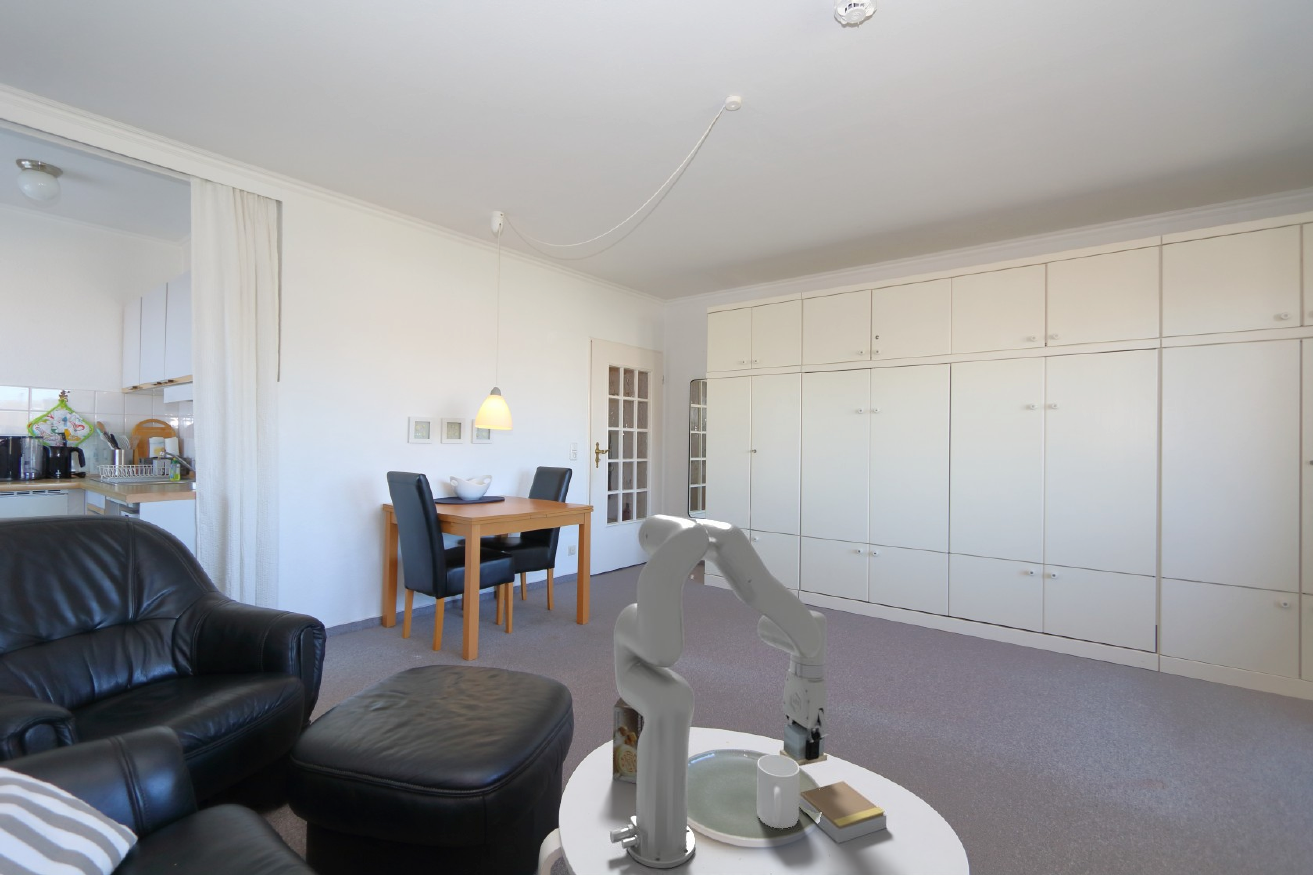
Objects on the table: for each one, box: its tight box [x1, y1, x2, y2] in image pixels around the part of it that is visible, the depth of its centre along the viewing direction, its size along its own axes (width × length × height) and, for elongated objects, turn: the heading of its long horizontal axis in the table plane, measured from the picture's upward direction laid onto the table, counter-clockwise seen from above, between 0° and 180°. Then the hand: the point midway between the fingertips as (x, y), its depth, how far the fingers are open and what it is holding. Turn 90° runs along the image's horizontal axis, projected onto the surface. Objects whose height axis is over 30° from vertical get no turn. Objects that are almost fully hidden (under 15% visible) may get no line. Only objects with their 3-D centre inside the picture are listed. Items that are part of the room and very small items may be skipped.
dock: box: [799, 780, 887, 844], centre depth 115 cm, size 12×12×3 cm
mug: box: [756, 753, 800, 830], centre depth 113 cm, size 12×8×10 cm
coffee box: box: [612, 697, 644, 784], centre depth 129 cm, size 9×6×16 cm
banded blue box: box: [779, 723, 828, 767], centre depth 126 cm, size 9×5×6 cm, turn 115°
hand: (803, 751), depth 126 cm, fingers closed on banded blue box, 5 cm apart
